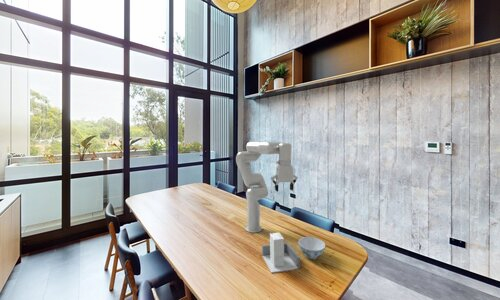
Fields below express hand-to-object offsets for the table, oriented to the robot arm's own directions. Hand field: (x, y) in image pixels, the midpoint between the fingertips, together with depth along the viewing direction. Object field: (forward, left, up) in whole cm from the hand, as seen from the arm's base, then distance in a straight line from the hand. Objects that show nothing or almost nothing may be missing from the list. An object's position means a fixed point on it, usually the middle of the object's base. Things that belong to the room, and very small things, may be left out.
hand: (284, 190), depth 125 cm
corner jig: (+14, -8, -36) cm, 39 cm away
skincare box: (+15, -10, -36) cm, 40 cm away
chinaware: (+13, +12, -36) cm, 40 cm away
